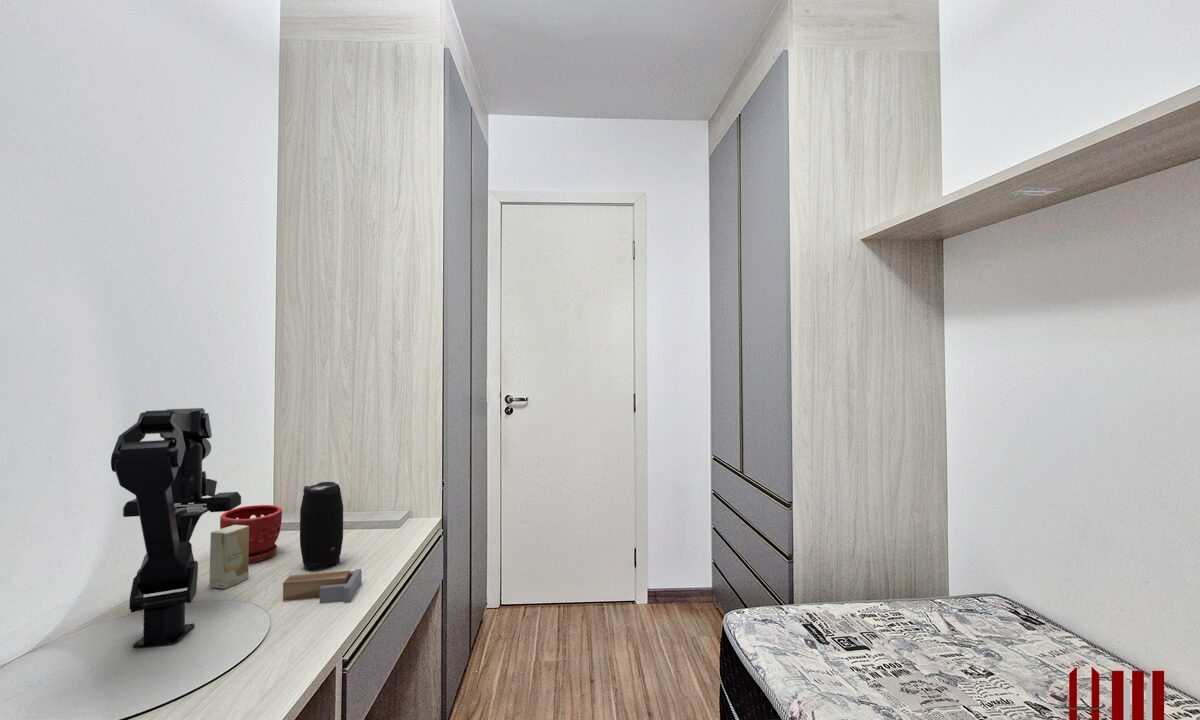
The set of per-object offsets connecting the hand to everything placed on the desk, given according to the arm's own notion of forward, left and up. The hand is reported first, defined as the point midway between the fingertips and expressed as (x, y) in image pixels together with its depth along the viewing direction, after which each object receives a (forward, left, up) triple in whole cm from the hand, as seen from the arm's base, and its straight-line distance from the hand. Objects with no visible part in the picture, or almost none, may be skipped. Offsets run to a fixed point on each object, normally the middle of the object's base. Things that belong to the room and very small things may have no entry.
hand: (184, 545), depth 107 cm
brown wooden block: (0, -25, -12) cm, 28 cm away
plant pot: (+26, -2, -12) cm, 29 cm away
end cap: (-1, -30, -12) cm, 32 cm away
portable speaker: (+17, -21, -12) cm, 30 cm away
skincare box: (+10, -4, -12) cm, 16 cm away
